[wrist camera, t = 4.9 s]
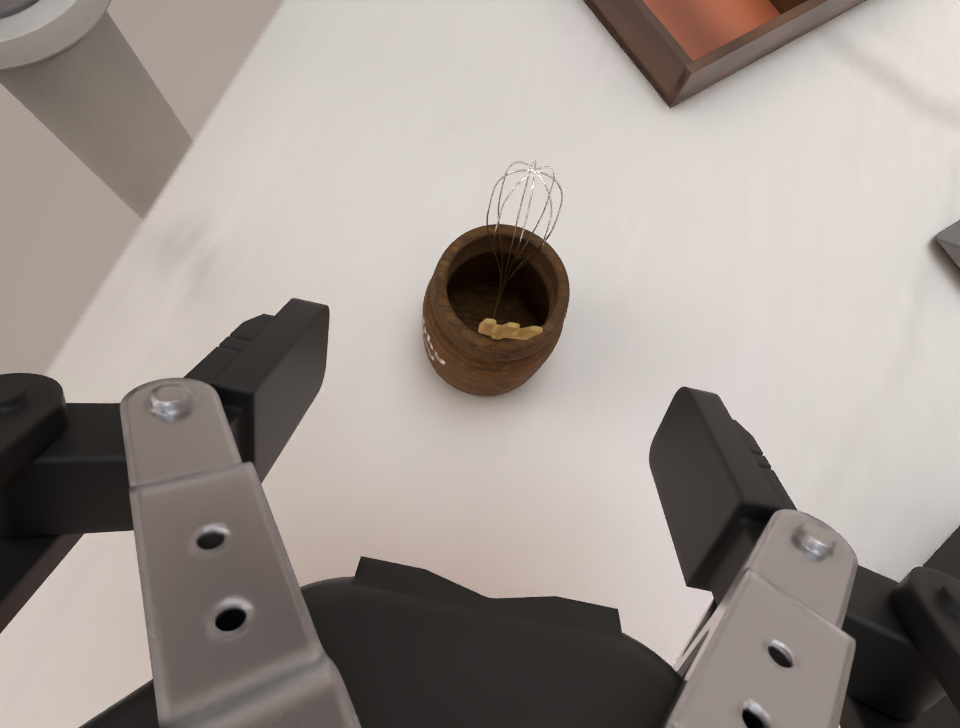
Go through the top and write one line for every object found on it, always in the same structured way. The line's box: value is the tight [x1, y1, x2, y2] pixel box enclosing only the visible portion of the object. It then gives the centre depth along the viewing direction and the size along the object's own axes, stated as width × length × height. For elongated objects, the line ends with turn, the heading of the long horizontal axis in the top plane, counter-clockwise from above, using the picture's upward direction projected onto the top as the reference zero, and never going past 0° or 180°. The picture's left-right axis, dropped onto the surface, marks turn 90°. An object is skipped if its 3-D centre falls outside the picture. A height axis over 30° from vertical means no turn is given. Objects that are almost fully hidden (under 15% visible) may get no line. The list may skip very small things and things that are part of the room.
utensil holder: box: [423, 159, 569, 396], centre depth 20 cm, size 6×6×12 cm
